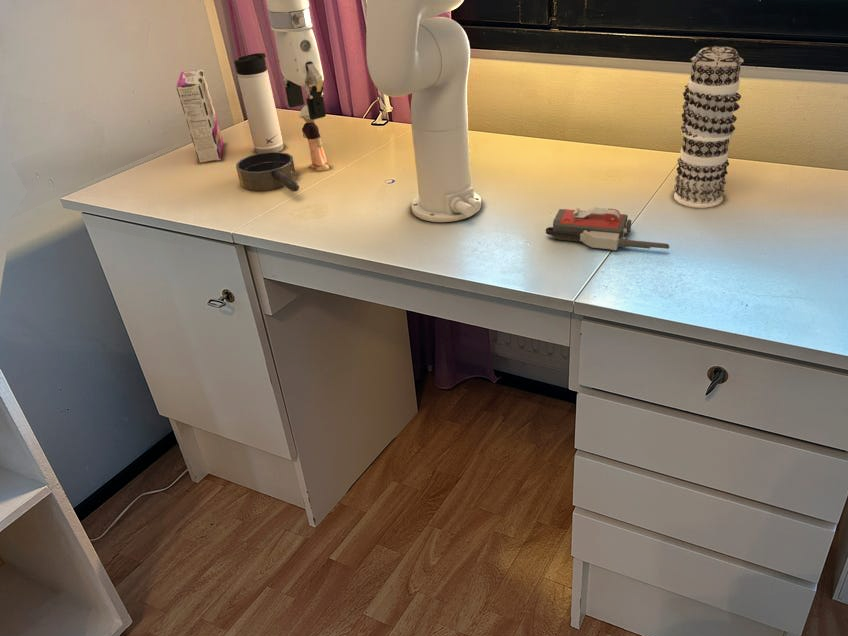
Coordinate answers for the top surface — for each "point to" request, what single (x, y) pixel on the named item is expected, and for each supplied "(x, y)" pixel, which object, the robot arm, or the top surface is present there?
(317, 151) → the grandmother figurine
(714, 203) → the white patterned cylinder
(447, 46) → the robot arm
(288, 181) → the pan handle
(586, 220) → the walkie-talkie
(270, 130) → the travel mug
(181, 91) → the candy bar box
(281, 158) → the pan
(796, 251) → the top surface
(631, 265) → the top surface
